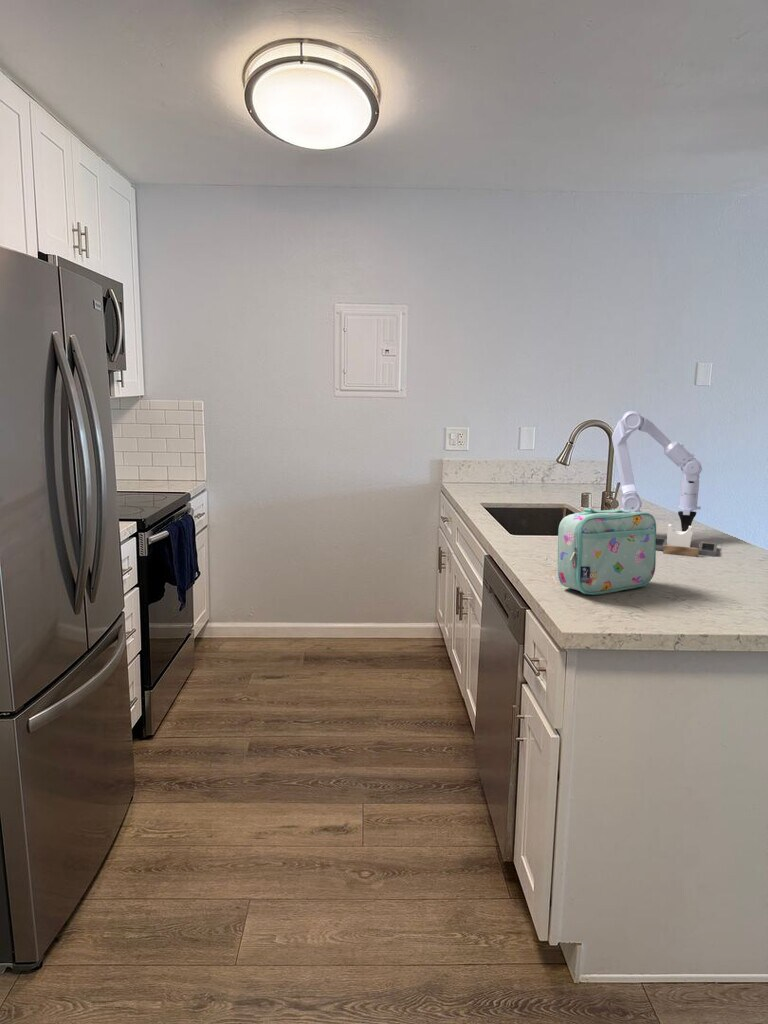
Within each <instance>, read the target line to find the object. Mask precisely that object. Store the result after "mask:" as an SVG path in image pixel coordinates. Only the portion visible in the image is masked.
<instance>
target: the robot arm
mask: <svg viewBox="0 0 768 1024" xmlns="http://www.w3.org/2000/svg"><path fill="white" fill-rule="evenodd" d="M637 430H638V431H639V432H644V433H646V434H648V435H649V436H650V437H652V438H653V439H654V440H655V441H656V442H657V443H658V444H659V445H661V447H663V448H664V452H663V454H664V455H665V456H666V457H667V458H668V459H670V461H671V462H672V463H673V464H675V465H676V466H677V467H680V471H681V480H680V487H679V496H678V497H679V501H678V505H677V508H678V509H680V511H677V514H678V517H679V519H680V525H681V526H680V527H681V531H687V530H688V527H689V526H692V523H693V521H694V519H695V517H696V516H697V511H698V510H701V508H702V507H701V506H698V500H699V489H700V474H701V473H702V472H703V467H702V463H701V462H700V461H699V460H697V458H696V457H695V455H694V454H693V453H690V452H689V451H688V450H687V449H686V448H685V444H684V443H682V442H679V441H672V440H671V439H669V438H668V436H666V435H665V433H663V431H661V429H660V428H658V426H656V425H655V424H654V422H652V421H651V420H649V419H648V418H646V417H645V416H643V415H641V413H639V412H637V411H635V410H629V411H626V412H624V413H623V415H622V416H621V417H620V418H618V421H617V424H616V427H615V428H614V431H613V433H612V435H611V442H612V445H613V450H614V452H613V453H614V455H615V460H616V462H615V463H616V466H617V471H618V476H619V481H620V487H621V492H622V495H621V499H620V500H621V506H622V507H621V508H620V509H619V510H628V511H632V512H643V511H641V508H642V503H643V502H642V500H641V497H640V496H639V494H638V493H637V488H636V484H635V480H634V474H633V469H632V464H631V459H630V458H631V457H630V454H629V450H628V449H629V448H628V443H627V440H628V438H630V436H631V435H632V433H634V432H635V431H637Z"/></svg>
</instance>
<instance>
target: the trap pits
mask: <svg viewBox="0 0 768 1024" xmlns="http://www.w3.org/2000/svg"><path fill="white" fill-rule="evenodd" d="M664 545H667V538H658V537H657V538H656V552H657V551H658V552H659V551H660V552H663V549H664ZM698 548H699V550H698V556H706V557H707V556H708V557H717V556H716V555H717V549H718V544H717V543H712V542H711V543H709V542H702V541H701V542H699V546H698Z"/></svg>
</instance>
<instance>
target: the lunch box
mask: <svg viewBox="0 0 768 1024" xmlns="http://www.w3.org/2000/svg"><path fill="white" fill-rule="evenodd" d="M656 537H657V523H656V519H655V517H654V516H653V515H652V514H651V513H649V512H646V511H642V512H632V511H628V510H620V509H606V510H605V509H603V510H595V509H593V508H585V507H584V508H583V511H581V512H575V513H572V514H571V513H570V514H568V515H566V516H564V517H563V518H562V519H561V521H560V522H559V525H558V532H557V577H558V580H559V583H560V584H561V585H562V586H563V587H565V588H569V589H572V590H575V591H578V592H580V593H581V594H584V595H592V596H594V595H595V596H596V595H605V594H610V593H611V594H612V593H616V592H621V591H624V590H632V589H637V588H640V587H644V586H646V585H648V584H649V583H650V582H651V581H652V579H653V577H654V575H655V572H656V565H657V564H656V563H657V559H656V557H657V556H656V555H657V553H656V552H657V550H656Z"/></svg>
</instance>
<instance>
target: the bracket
mask: <svg viewBox="0 0 768 1024" xmlns="http://www.w3.org/2000/svg"><path fill="white" fill-rule="evenodd" d="M693 533H694V532H693V525H691V526H689V527H688V530H687V531H682V530H675V529H674V528H673V524H671V523H668V525H667V534H666V539H667V545H672V546H682V547H691V544H692V542H693V535H694V534H693Z"/></svg>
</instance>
